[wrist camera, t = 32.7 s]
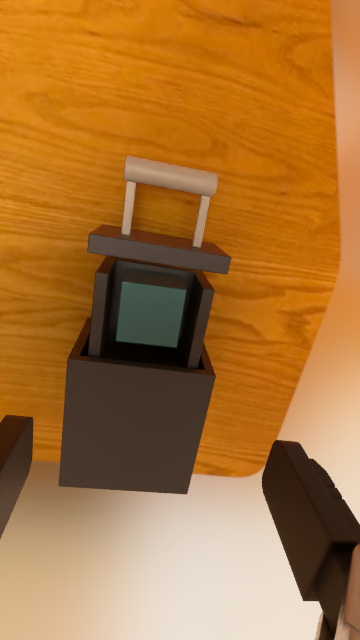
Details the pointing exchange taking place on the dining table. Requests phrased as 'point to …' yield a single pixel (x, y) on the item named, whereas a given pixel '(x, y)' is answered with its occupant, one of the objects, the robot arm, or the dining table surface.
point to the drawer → (155, 267)
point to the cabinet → (131, 422)
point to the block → (150, 308)
